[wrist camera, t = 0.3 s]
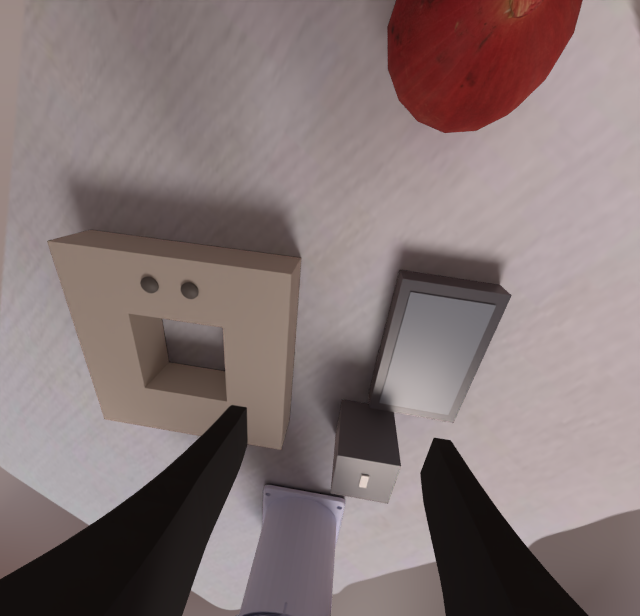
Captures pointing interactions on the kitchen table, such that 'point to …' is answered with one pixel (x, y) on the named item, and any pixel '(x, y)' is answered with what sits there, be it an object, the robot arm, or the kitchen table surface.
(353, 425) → the block
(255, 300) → the outlet plate
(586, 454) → the kitchen table surface
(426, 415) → the phone
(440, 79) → the onion
